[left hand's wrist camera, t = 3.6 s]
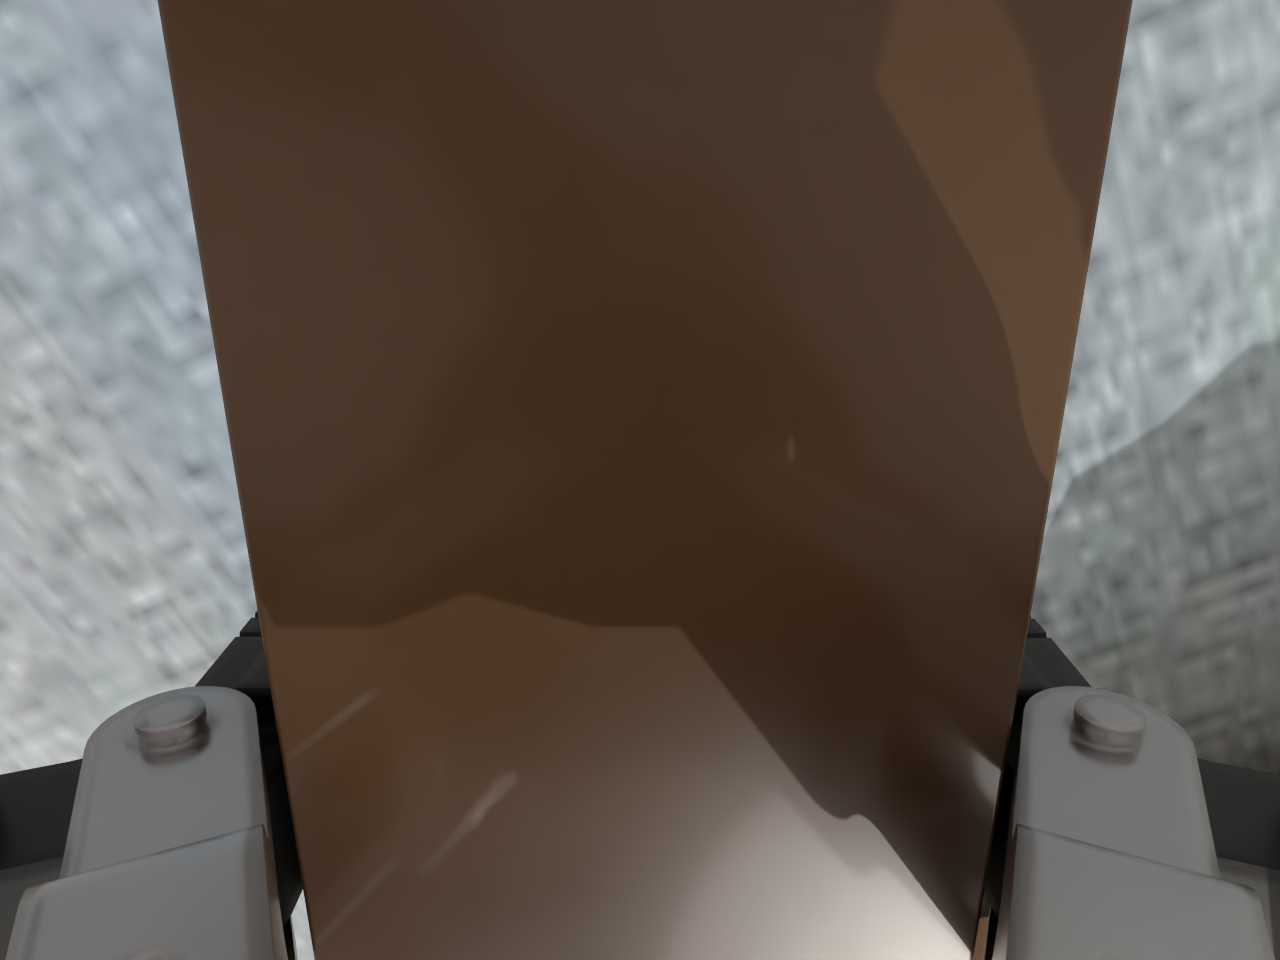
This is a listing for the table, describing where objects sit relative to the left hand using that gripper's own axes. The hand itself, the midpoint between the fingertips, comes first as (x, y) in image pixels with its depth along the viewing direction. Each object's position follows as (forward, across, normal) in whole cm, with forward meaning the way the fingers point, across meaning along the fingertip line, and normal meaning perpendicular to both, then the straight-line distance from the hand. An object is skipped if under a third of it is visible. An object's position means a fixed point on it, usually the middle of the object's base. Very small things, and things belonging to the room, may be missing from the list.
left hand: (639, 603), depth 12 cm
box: (+8, 0, -7) cm, 10 cm away
